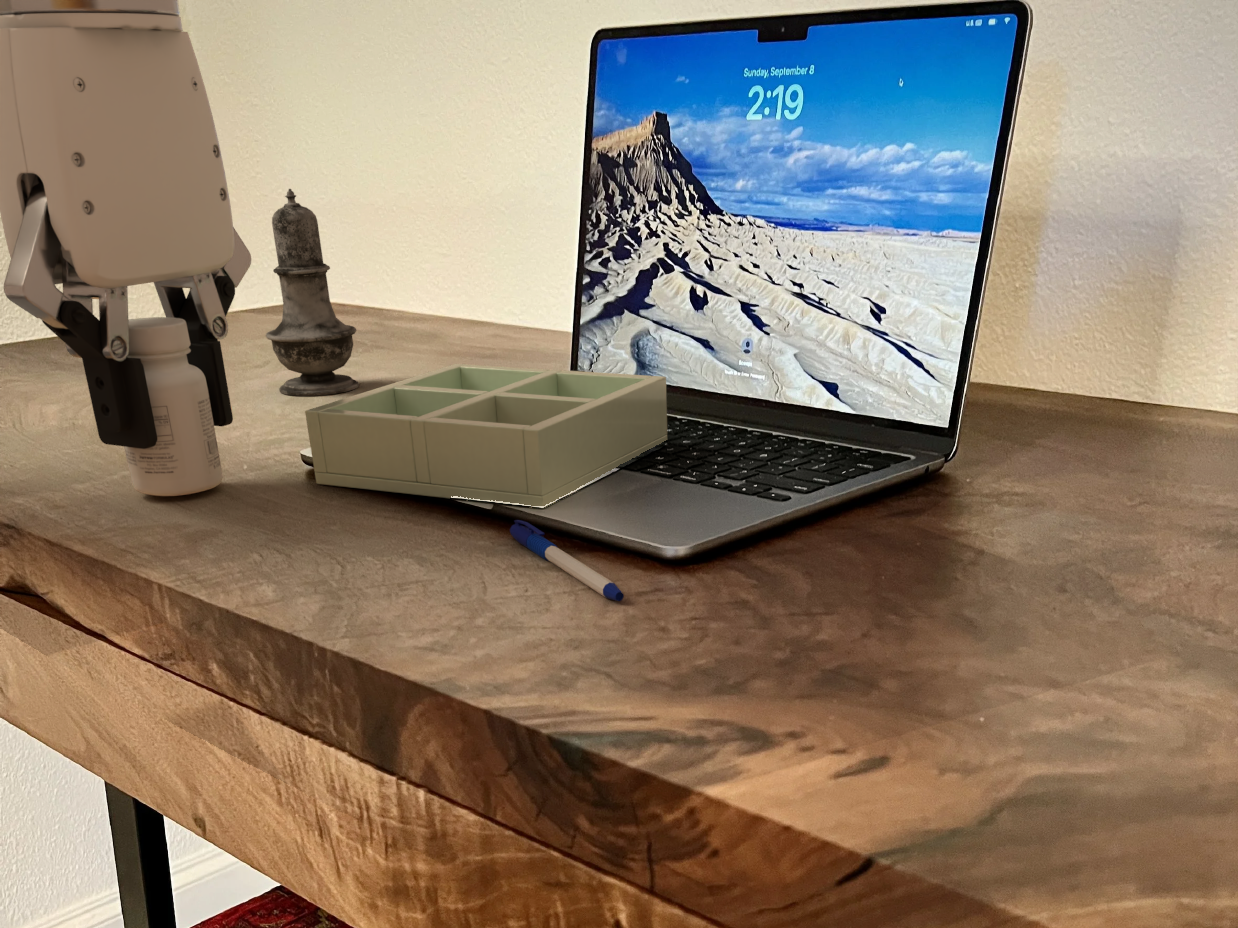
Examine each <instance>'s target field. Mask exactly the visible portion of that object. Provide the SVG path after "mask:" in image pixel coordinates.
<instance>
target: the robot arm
mask: <svg viewBox="0 0 1238 928" xmlns="http://www.w3.org/2000/svg"><path fill="white" fill-rule="evenodd" d="M180 15H181V11H180V6H179V0H0V218H1V224H2V228H3V232H4V237H5V242H6V247H7V250H8V254H9V257H10V261H9V263H8V267H7V271H6V275H5V279H4V282H3V292H4V295H5V297H6V298H7V299H8V301H10V302H11V303H13V304H15V305H16V306H18V307H19V308H20V309H22V310H24V311H25V312H27V313H28V314H30V315H31V316H33V317H35V318H36V319H40V320H41V322H42V323H43V324H44V326H45V327H46V328H48V329H49V331H51V332H52V333H53V334H55V335H56V336H57V337H58V338H59V339H60V340H61V341H62V342H63V343H64V344H65V348H66V351H67V352H68V354H69V355H70V356H71V357H73V358H76V359H81V360H82V365H83V370H84V374H85V379H86V384H87V387H88V393H89V398H90V401H91V406H92V410H93V415H94V420H95V425H96V429H97V430H96V431H97V435H98V438H99V439H100V441H101V443H103V444H104V445H109V446H115V447H116V446H117V447H124V446H125V447H133V448H141V449H146V448H150V447H153V446H155V445H156V442H157V433H156V428H155V423H154V418H153V413H152V408H151V402H150V397H149V392H148V387H147V382H146V377H145V372H144V367H143V364H142V363H141V358H129V357H128V354H129V323H128V319H129V295H128V294H129V291H128V289H129V288H128V287H131V286H137V285H145V284H151V283H153V285H154V287H155V290H156V293H157V296H158V298H159V302H160V304H161V308H162V309H163V313H164V315H165V316H164V317H172V318H180V319H184V320H185V321H186V324H187V329H188V334H189V339H190V343H191V344H190V346H189V348H190V350H191V352H190V353H188V354H186V355H187V360H188V363H189V364H190V365H193V366H196V367H197V368H199V369H200V370H201V371H202V372H203V374H204V376H205V378H206V383H207V388H208V393H209V399H210V405H211V411H212V417H213V422H214V427H225V426H226V427H227V426H228V425H231V424H233V420H234V416H233V410H232V403H231V398H230V391H229V387H228V380H227V375H226V368H225V363H224V362H225V361H224V356H223V351H222V350H223V349H222V345H221V341H222V340H225V338H226V337H227V335H228V333H229V332H228V331H229V323H228V320H227V314H228V312H229V310H230V308H231V306H232V303H233V301H234V298H235V296H236V288H238V287H239V285H240V284H241V281H242V280H243V279H244V277H245V275H246V274H247V272H248V271H249V269H250V267H251V265H252V254H251V252H250V249H248V247H247V246H246V245H245V242H244V241H243V239H242V238H241V236H240V235H239V233H238V232H237V230H236V228H235V227H234V223H233V221H234V220H233V214H232V213H233V212H232V207H231V200H230V193H229V188H228V183H227V177H226V171H225V166H224V161H223V156H222V152H221V147H220V142H219V137H218V133H217V129H216V125H215V121H214V116H213V113H212V109H211V105H210V101H209V98H208V93H207V89H206V86H205V83H204V79H203V76H202V71H201V68H200V66H199V63H198V59H197V56H196V53H195V50H194V47H193V44H192V41H191V38H190V35H189V32H188V31H183V24H182V18H181V16H180ZM61 284H62V291H61V290H60V289H59V288H58V287H57V286H56V285H61ZM184 289H189V291H188V293H187V295H186V294H185V291H184ZM93 300H98V318H97V317H96V316H95V315H94V310H93V309H94V305H93ZM220 340H221V341H220Z"/></svg>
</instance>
